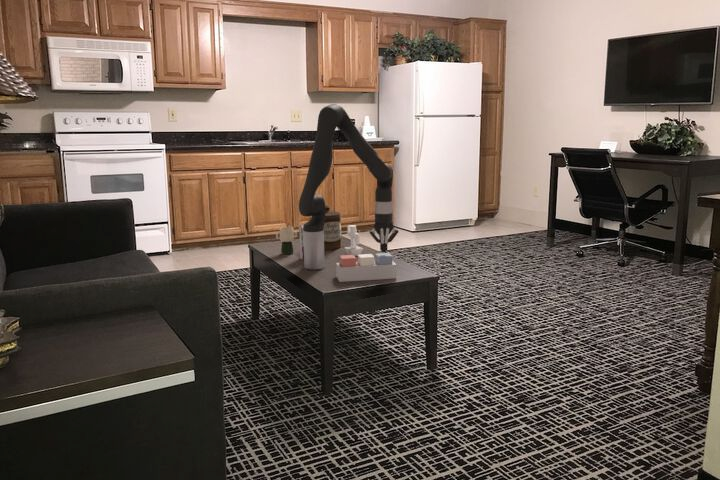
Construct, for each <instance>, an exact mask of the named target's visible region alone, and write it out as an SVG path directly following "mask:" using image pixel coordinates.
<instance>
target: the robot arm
mask: <svg viewBox="0 0 720 480" xmlns="http://www.w3.org/2000/svg"><path fill="white" fill-rule="evenodd" d="M336 128H337V129H339V130H340V131H341V132H342V133H343V135H344V136H345V138H346V139H347V142H348V143H349V145H350V147H351V149H352V151H353V153H354V154H355V155H356V156H357V158H358V159H360V160H361V161H362V163H363V164H364V165H365V166H366V168H367V170H369V172H370V173H371V175H372V176H373V178H375V180H376V188H375V191H374V192H375V193H374V195H375V196H374V197H375V199H374V201H375V202H374V225H373V228H372V229H371V230H369V231H368V233H369V235H371V237H372V239H374V241H376V243H379V247H380V248H379V250H380V251H381V253H387V251H388V243H392V241H393V240H394V239H395V238H396V236H397V235H398V233H399V230H398V229H397V228H395V227H394V224H393V219H394V216H393V215H394V214H393V213H394V208H393V207H394V206H393V193H392V192H393V191H392V190H393V182H394V170H393V168H392V166H391V165H390V164H388V163H385V162H384V161H383V160H382V159H381V158H380V157H379V154H378V152H377V151H376V150H375V148H374V147H373V146H372V145H371V144H370V143H369V142H368V141H367V139H365V137H364V135H362V133H361V132H360V130H359V129H358V128H357V127H356V125H355V123H354V122H353V121H352V119H351V118H350V116H349V115H348V112H347V111H346V110H345V109H344V108H343V106H341V105H340V104H338V103H331V104H329V105H326V106H324V107H323V108H322V109H321V110H320V111H319V113H318V118H317V126H316V134H315V138H314V144H313V148H312V152H311V154H310V155H311V156H310V159H309V165H308V169H307V173H306V174H307V175H306V178H305V183H304V186H303V189H302V191H301V194H300V197H299V202H298V212H299V213H300V215H301V216H303V217H310V219H309V220H308V221H307V222H304V224H303V225H302V226H303V235H304V260H303V263H304V265H303V266H304V267H303V268H305V269H306V270H315V271H316V270H321V269H324V268H325V265H326V264H325V250H324V225H325V206H326V201H325V199H324V196H322V194H316V192H317V190H318V188H319V187H320V186H321V185H322V184H323V182H324V181H325V179H326V178H327V177H328V175H329V174H330V172H331V168H332V163H333V158H334V155H333V153H334V152H333V138H334V134H335V131H336ZM376 234H377V235H378V237H379V238H378V237H377V235H376Z"/></svg>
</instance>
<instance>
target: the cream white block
mask: <svg viewBox="0 0 720 480" xmlns="http://www.w3.org/2000/svg"><path fill="white" fill-rule="evenodd" d="M374 261H375V256H374V255H373V254H372V253H364V254H362V253H361V254H359V255H358V256H357V262H358V265H359V266H371V265H374Z"/></svg>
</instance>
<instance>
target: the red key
mask: <svg viewBox="0 0 720 480" xmlns="http://www.w3.org/2000/svg"><path fill="white" fill-rule="evenodd" d="M356 262H357V256H354V255H348V254H344V255H343V254H342V255H339V263H340V266H341V267H354V266H356Z"/></svg>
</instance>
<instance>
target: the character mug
mask: <svg viewBox="0 0 720 480" xmlns="http://www.w3.org/2000/svg"><path fill="white" fill-rule="evenodd" d="M294 229H295V228H294V227H291V226H284V227H280V228H279V232H276V233H275V239H276V240H280V242H281V246H280V247H281V248H280V249H281V250H280V251H281V254H284V255H287V254H292V253H294V247H293V246H294V245H293V241H294V240H295V238H298V231H297V230H294Z"/></svg>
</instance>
